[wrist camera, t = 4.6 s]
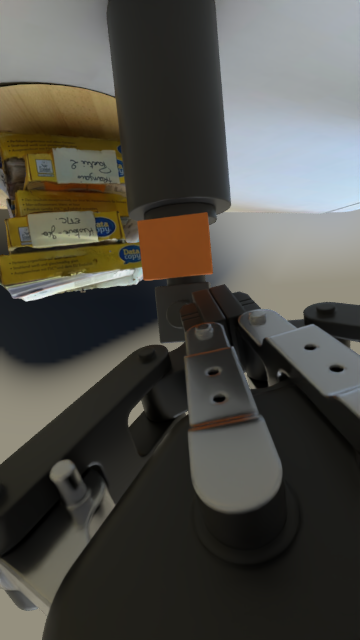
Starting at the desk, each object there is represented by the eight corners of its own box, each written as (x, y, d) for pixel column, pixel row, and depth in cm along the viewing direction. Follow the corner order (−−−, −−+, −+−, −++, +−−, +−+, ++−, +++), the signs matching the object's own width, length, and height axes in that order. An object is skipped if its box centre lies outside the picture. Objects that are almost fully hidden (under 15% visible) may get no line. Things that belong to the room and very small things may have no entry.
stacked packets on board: (-95, 41, 20) (-52, 306, 22) (210, 121, 34) (223, 281, 36) (-67, 175, 41) (-45, 307, 43) (117, 192, 55) (128, 291, 56)
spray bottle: (72, -59, 16) (120, 353, 18) (214, -94, 15) (248, 344, 17) (124, 64, 24) (152, 330, 26) (215, 46, 23) (237, 323, 25)
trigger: (136, 220, 17) (143, 280, 18) (207, 211, 17) (212, 273, 17) (140, 223, 18) (146, 280, 19) (207, 215, 18) (213, 273, 18)
